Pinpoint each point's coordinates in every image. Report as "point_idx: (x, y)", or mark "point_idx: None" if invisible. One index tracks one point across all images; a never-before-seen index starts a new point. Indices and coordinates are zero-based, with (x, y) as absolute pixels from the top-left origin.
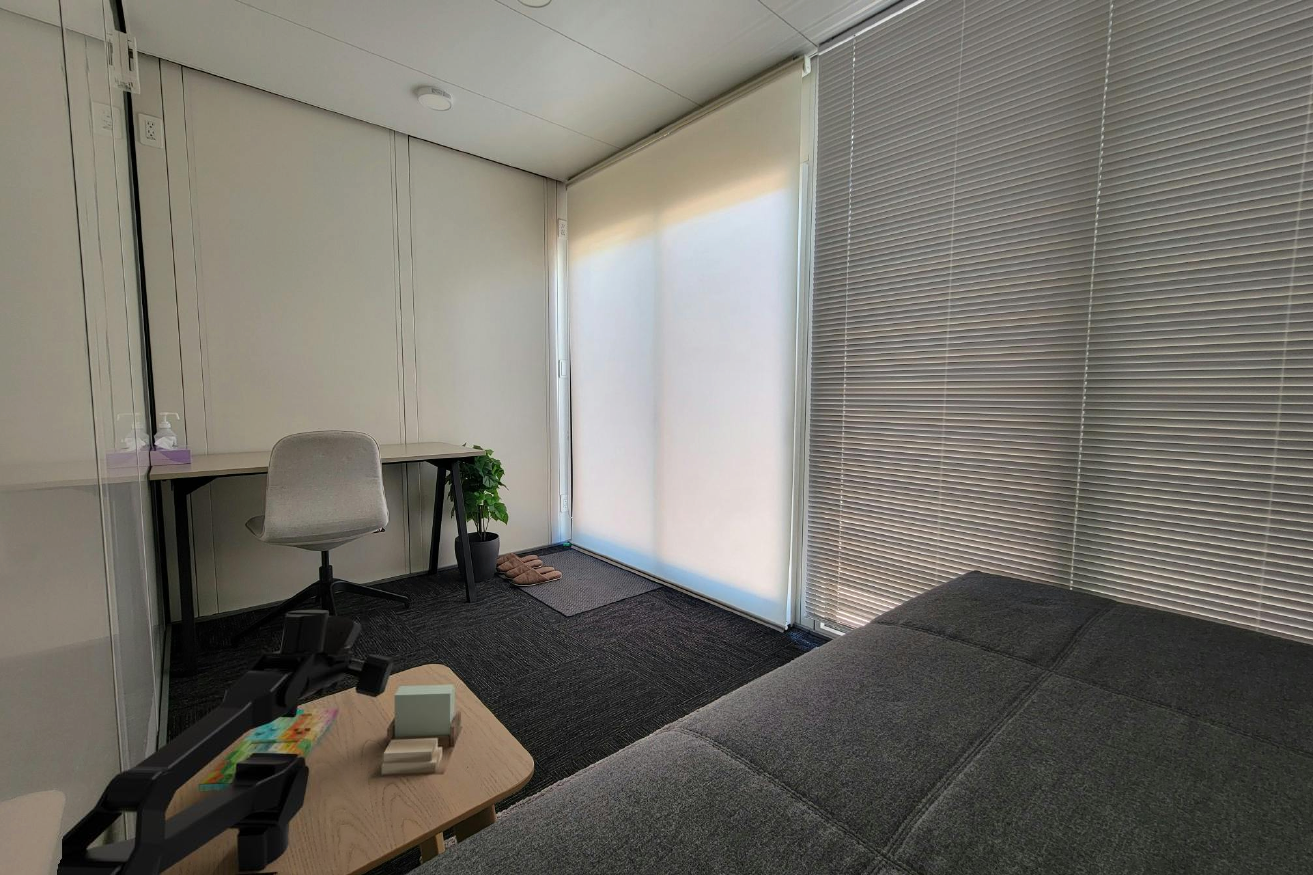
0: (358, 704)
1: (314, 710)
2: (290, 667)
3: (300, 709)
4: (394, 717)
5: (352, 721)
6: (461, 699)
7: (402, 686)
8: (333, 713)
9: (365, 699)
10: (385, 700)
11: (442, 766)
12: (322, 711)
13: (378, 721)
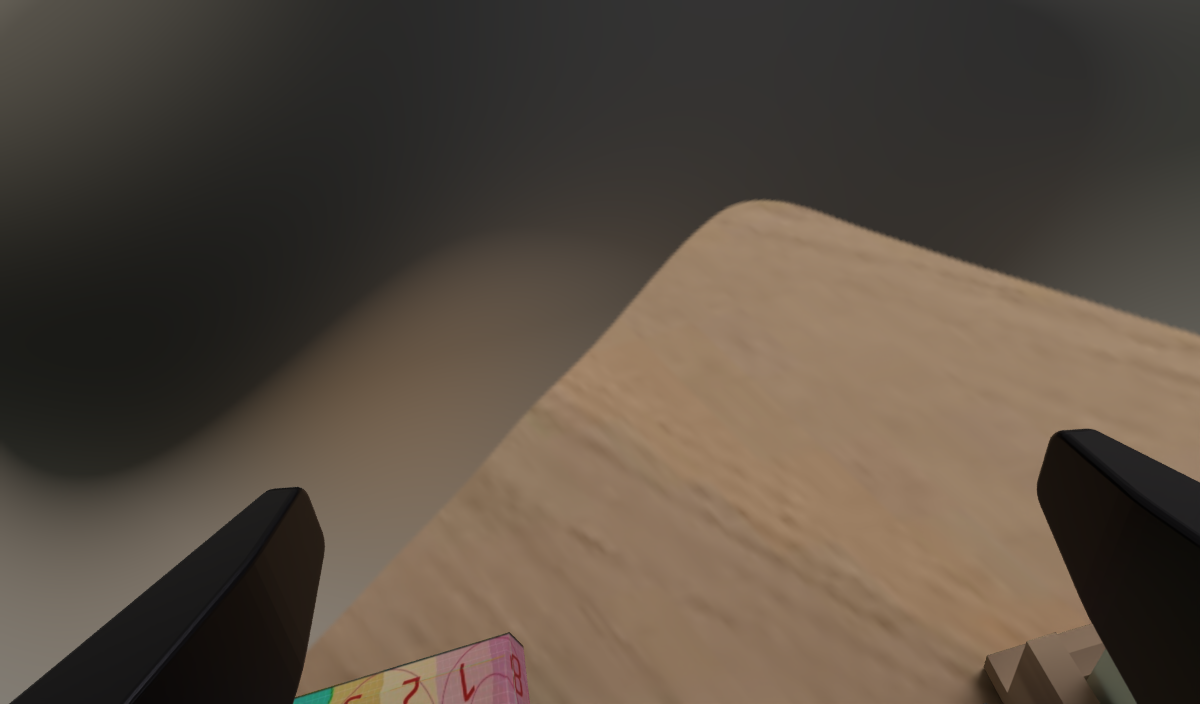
0: (543, 492)
1: (385, 701)
2: None
3: (297, 702)
4: (1064, 701)
5: (605, 625)
6: (1063, 306)
7: None
8: (515, 692)
9: (552, 451)
10: (657, 429)
11: None
12: (439, 698)
13: (752, 588)
